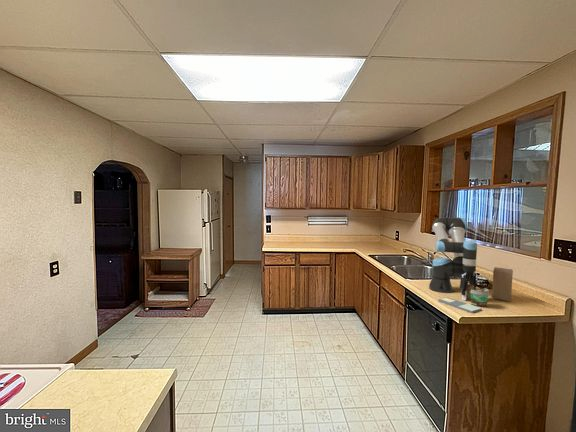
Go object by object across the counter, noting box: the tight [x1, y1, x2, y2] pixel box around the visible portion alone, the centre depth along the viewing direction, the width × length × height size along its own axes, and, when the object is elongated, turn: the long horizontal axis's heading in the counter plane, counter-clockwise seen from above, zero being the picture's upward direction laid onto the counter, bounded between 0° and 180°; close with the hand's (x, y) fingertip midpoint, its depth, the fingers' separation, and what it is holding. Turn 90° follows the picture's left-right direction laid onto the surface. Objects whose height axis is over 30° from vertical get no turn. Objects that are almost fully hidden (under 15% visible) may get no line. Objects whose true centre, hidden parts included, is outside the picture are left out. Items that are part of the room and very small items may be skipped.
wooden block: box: [491, 266, 513, 303], centre depth 187 cm, size 10×10×20 cm
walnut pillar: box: [460, 283, 475, 302], centre depth 185 cm, size 5×5×10 cm
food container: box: [470, 287, 490, 308], centre depth 173 cm, size 12×6×10 cm, turn 106°
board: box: [437, 297, 483, 314], centre depth 173 cm, size 21×10×1 cm, turn 27°
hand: (467, 299), depth 185 cm, fingers open, 7 cm apart
